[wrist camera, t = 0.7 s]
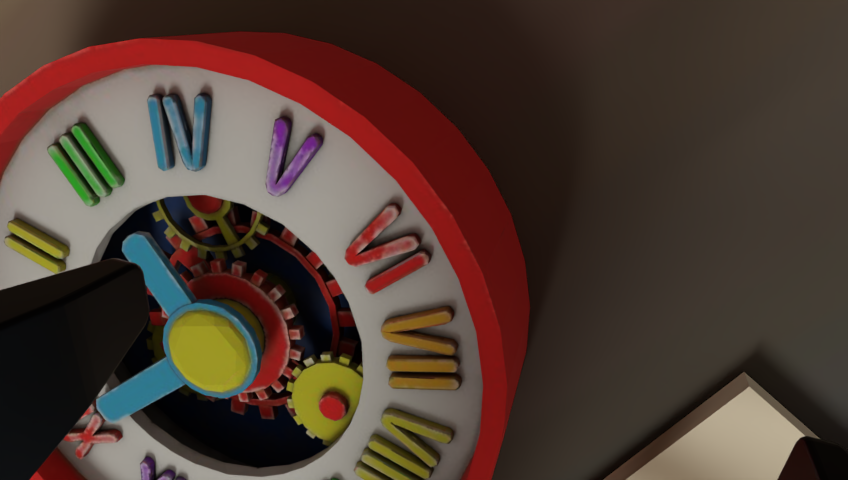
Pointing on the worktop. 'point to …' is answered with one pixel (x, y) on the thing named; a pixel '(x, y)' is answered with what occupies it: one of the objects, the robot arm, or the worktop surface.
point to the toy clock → (270, 261)
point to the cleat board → (722, 440)
